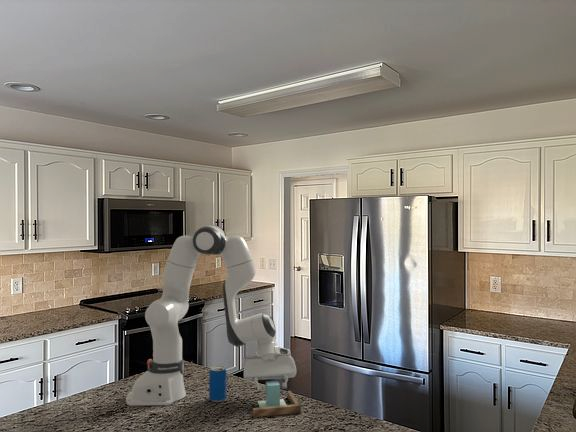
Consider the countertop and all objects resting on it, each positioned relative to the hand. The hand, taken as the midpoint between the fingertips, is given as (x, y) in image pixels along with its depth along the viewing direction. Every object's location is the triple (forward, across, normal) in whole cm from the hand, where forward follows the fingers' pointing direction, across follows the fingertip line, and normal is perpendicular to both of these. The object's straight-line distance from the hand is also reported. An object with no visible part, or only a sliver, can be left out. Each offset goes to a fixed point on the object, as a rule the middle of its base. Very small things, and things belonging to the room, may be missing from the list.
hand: (272, 389), depth 167 cm
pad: (+4, 0, +4) cm, 6 cm away
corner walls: (+5, 0, +4) cm, 6 cm away
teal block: (+4, 0, +4) cm, 6 cm away
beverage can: (-3, -19, +12) cm, 23 cm away
